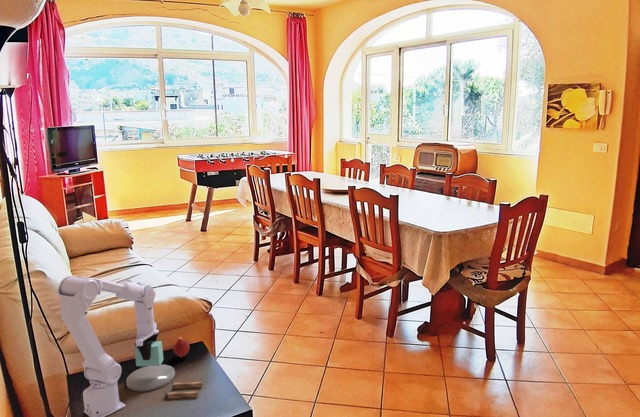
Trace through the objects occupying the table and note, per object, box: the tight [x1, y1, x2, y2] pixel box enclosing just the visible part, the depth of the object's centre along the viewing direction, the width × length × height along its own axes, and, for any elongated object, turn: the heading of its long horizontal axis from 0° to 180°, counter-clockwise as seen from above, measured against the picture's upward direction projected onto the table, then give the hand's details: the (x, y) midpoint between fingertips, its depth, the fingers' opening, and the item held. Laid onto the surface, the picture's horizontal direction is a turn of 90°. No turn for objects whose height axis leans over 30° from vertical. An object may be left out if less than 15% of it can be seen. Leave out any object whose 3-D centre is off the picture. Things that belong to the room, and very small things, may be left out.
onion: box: [173, 336, 190, 358], centre depth 174 cm, size 6×6×8 cm
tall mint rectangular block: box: [134, 340, 164, 367], centre depth 158 cm, size 8×4×7 cm, turn 91°
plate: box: [125, 363, 176, 393], centre depth 159 cm, size 16×16×1 cm
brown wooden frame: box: [164, 381, 204, 400], centre depth 150 cm, size 10×7×2 cm, turn 91°
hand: (149, 356), depth 158 cm, fingers closed on tall mint rectangular block, 4 cm apart
